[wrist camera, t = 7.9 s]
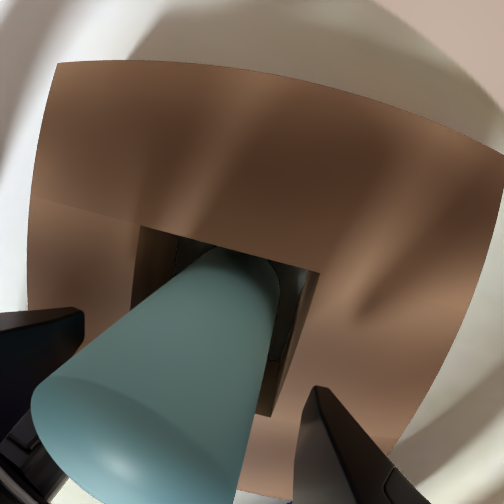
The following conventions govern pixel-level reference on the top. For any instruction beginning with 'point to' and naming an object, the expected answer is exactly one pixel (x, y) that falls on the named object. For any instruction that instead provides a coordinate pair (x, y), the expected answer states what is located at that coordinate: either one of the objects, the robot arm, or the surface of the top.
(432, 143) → the socket block
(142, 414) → the peg
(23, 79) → the top surface
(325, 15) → the top surface
